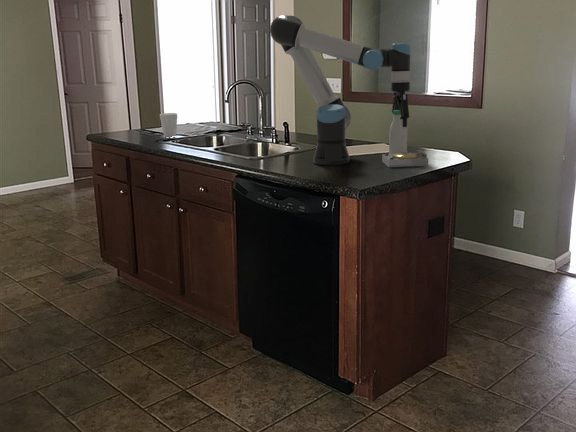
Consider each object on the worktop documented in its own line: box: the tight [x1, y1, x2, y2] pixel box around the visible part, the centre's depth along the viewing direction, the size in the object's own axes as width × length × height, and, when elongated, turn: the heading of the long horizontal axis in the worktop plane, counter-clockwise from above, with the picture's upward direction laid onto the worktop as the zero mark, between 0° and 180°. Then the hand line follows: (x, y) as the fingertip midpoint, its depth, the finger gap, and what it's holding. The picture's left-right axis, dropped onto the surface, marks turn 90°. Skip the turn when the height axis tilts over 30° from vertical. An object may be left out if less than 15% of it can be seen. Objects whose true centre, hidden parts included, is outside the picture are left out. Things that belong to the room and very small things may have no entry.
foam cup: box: [159, 112, 178, 138], centre depth 334 cm, size 10×9×13 cm
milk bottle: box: [388, 110, 408, 154], centre depth 260 cm, size 8×8×20 cm
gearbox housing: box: [382, 149, 429, 168], centre depth 248 cm, size 16×12×4 cm
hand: (400, 132), depth 259 cm, fingers open, 13 cm apart
